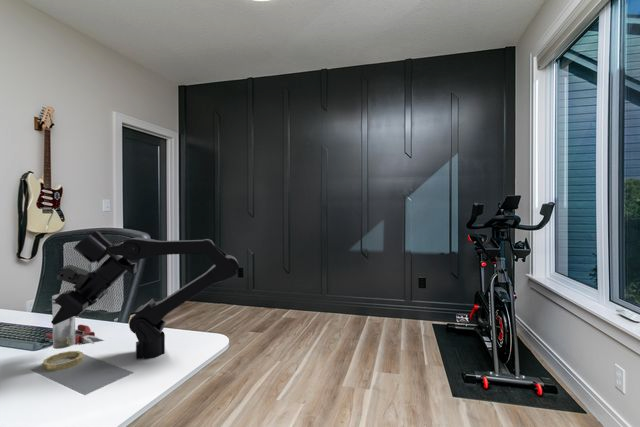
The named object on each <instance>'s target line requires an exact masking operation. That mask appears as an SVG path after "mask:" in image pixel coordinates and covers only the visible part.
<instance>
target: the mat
mask: <svg viewBox="0 0 640 427" xmlns="http://www.w3.org/2000/svg"><path fill="white" fill-rule="evenodd" d="M73 359H75V358H65V359H60V360H57V361H54V362H52V363H50V364H58V363H63V362H67V361H70V360H73ZM30 371H32V372H34V373H37V375H38V374H39V375H41V376H43V377H44V378H46V379H49V380H51V381H54V382H55V383H58V384H60V385H62V386H64V387H67V388H68V389H71V390H73V391H75V392H78V393H79V394H81V395H84V396H87V395H89V394H91V393H93V392H95V391H97V390H99V389H102V388H104V387H106V386H108V385H111V384H113V383H115V382H117V381H119V380H121V379H123V378H126V377H128V376H130V375H133V374H134V373H135V372H133V371H132V370H129V369H126V368H123V367H121V366H117V365H115V364H111V363H109V362H106V361H104V360H101V359H99V358H95V357H93V356H90V355H88V354H84V353H83V360H82V362H81V363H79V364H78V365H76V366H73V367H70V368H68V369H63V370H58V371H46V370H43V364H42V365H39V366H36V367H34V368H30Z"/></svg>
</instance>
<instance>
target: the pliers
mask: <svg viewBox="0 0 640 427" xmlns="http://www.w3.org/2000/svg"><path fill="white" fill-rule="evenodd" d="M77 331H79V332H82V333H83V332H84V333H85V334H75V344H74V345H76V346H77V345H78V344H82V343H83V344H84V345H87V344H92V345H95V343H99V342H105V340H104V339H102V338H100V337H97V336H95V335H96V333H95V331H91V328H90V327H89V326H88V325H86V324H78V325H77ZM44 336H45V337H47V338H49V339H53V333H45V335H44ZM74 345H73V346H74Z"/></svg>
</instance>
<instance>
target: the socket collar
mask: <svg viewBox="0 0 640 427" xmlns="http://www.w3.org/2000/svg"><path fill="white" fill-rule="evenodd" d="M83 354H84V352H83V351H80V350H68V351H62V352H59V353H56V354H53V355H50V356H47V357H46V358H45V359H44V360H43V361H42V365H43V370H46V371H58V370H63V369H68V368H70V367H73V366H76V365H78V364H79V363H81V362H82V360H83ZM65 358H75V359H73V360H70V361H67V362H63V363H58V364H50V363H52V362H54V361H57V360H60V359H65Z"/></svg>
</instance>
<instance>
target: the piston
mask: <svg viewBox="0 0 640 427" xmlns="http://www.w3.org/2000/svg"><path fill="white" fill-rule="evenodd" d="M60 294H61V293H57V294H54V295H52V296H51V303H52V304H51V306H52V307H51V308H52V309H51V310H52V318H51V319H52V320H53V318H54V317H55V315H56V314H57V312H58V311H59V309H60V308H61V306H60V305H59V304H57V303H56V302H55V299H56V298H57V297H58V296H59V295H60ZM52 335H53V343H52V348H53V349H55V350H60V349H66V348H70V347H72V346H74V344H75V335H76V316H74V317H71V318H69V319H67V320H64V321H62V322H60V323H58V324H56V325H54V324H52Z"/></svg>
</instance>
